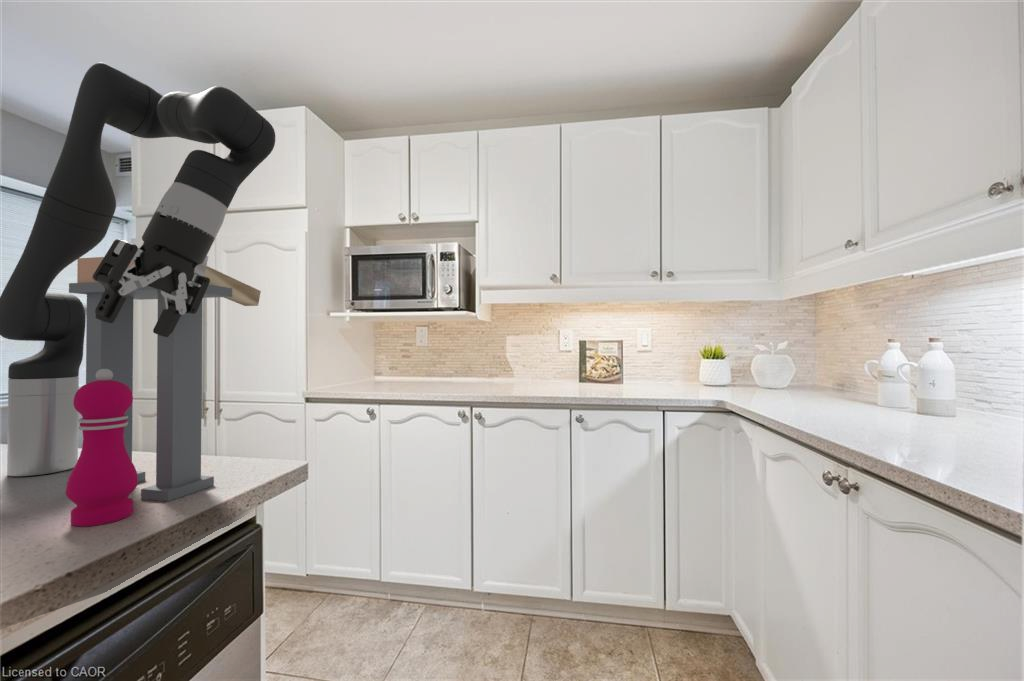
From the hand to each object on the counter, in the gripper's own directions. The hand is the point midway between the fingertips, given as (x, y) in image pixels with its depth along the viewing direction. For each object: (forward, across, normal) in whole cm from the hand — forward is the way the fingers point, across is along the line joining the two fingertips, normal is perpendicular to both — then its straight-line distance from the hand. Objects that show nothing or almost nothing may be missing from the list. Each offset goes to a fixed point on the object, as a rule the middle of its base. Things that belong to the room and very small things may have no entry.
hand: (133, 328), depth 63 cm
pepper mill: (+25, -4, +6) cm, 26 cm away
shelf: (+24, -17, -1) cm, 29 cm away
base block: (-5, -11, -16) cm, 20 cm away
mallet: (-8, -15, -6) cm, 18 cm away
